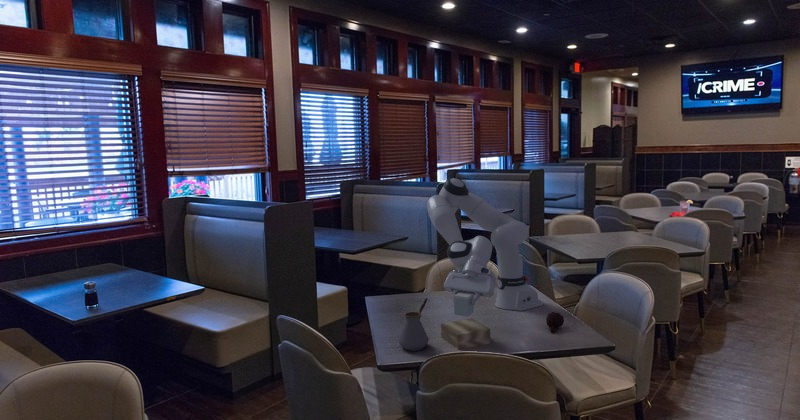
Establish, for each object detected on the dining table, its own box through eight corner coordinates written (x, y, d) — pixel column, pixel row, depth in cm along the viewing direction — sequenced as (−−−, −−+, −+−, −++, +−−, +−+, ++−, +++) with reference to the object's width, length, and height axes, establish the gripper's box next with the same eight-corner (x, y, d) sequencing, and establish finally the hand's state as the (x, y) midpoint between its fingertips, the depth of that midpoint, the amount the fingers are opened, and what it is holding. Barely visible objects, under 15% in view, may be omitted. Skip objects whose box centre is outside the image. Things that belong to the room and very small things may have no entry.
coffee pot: (422, 354, 199) (421, 315, 197) (393, 350, 203) (392, 311, 202) (441, 335, 218) (440, 298, 216) (415, 331, 223) (414, 296, 221)
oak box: (472, 332, 221) (471, 318, 220) (490, 344, 208) (490, 329, 207) (441, 338, 216) (440, 323, 215) (458, 350, 203) (457, 334, 202)
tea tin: (460, 310, 214) (460, 291, 213) (473, 312, 211) (473, 293, 210) (454, 314, 210) (454, 295, 209) (467, 316, 207) (467, 297, 206)
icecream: (548, 306, 230) (538, 320, 217) (565, 304, 226) (556, 318, 213) (552, 322, 231) (543, 336, 218) (570, 320, 227) (561, 334, 214)
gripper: (447, 265, 220) (436, 295, 213) (495, 270, 209) (485, 302, 202) (452, 273, 224) (442, 303, 217) (499, 279, 213) (490, 310, 206)
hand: (463, 302), depth 209 cm, fingers closed on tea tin, 6 cm apart
